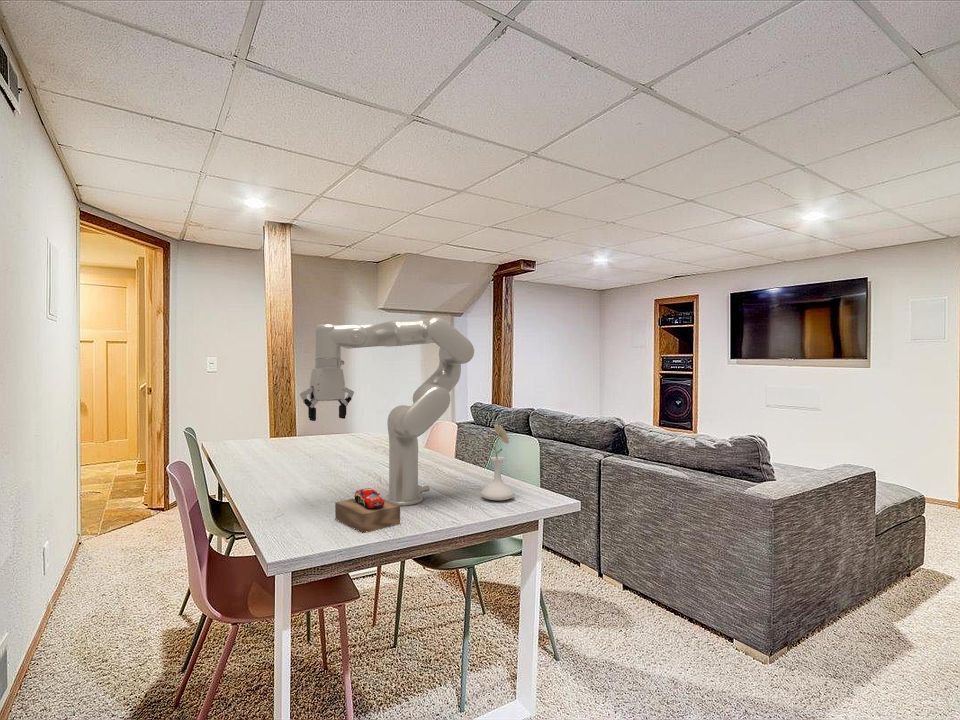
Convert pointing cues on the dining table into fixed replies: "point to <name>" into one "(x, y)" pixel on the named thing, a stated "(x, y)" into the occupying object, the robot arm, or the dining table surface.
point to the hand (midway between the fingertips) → (327, 419)
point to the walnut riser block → (367, 515)
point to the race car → (369, 498)
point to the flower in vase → (498, 474)
